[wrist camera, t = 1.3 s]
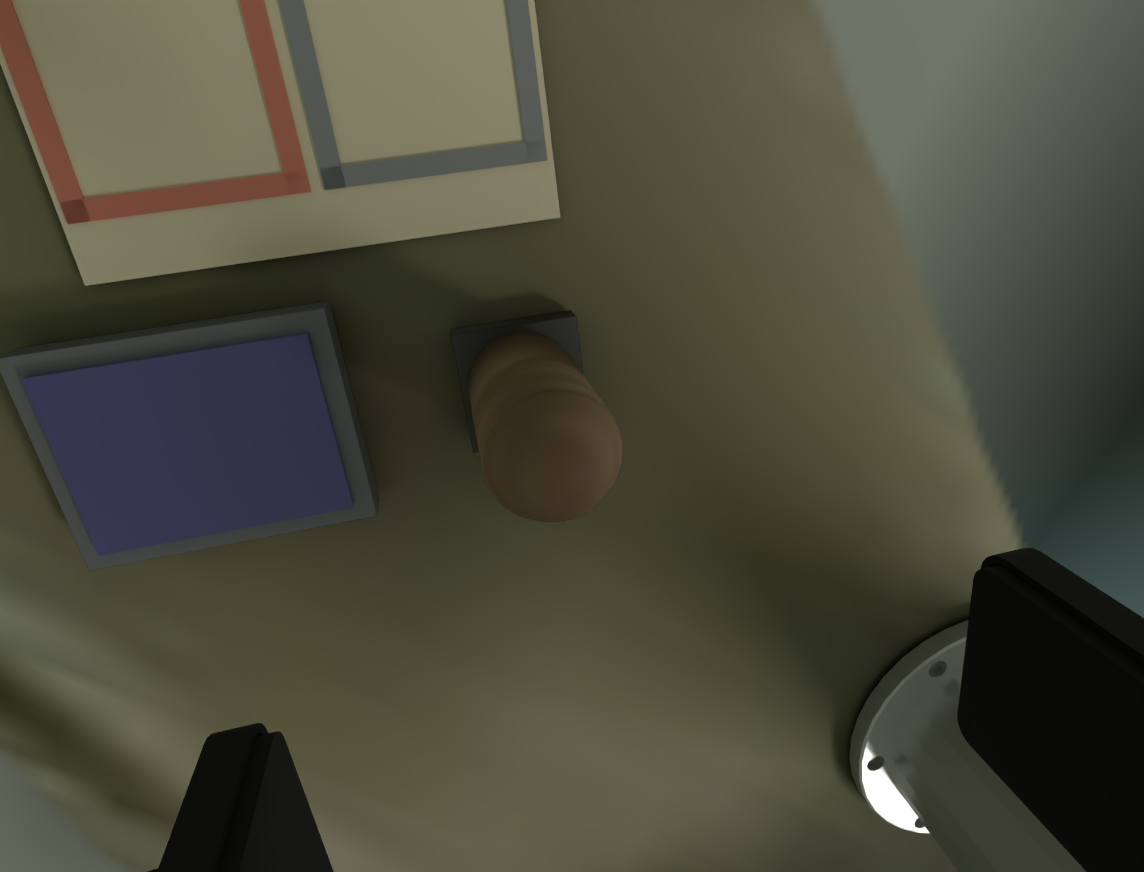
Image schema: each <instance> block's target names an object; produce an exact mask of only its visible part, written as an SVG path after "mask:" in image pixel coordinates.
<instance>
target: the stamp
mask: <svg viewBox="0 0 1144 872" xmlns="http://www.w3.org/2000/svg"><path fill="white" fill-rule="evenodd" d="M451 337H452V342H453V348H454V353H455V358H456V363H457V369H458V374H459V379H460V385H461V390H462V395H463V401H464V406H465V411H466V416H467V422H468V427H469V432H470V438H471V443H472V448H473V453H475V452H479V455H480V461H481V466H482V472H483V475H484V479H485V481H486V484H487V486H488V488H489V490H490V491H491V493H492V495H493V496H494V497H495V498H496V499H497V501H498V502H499V503H501V504H502V505H503V506H504V507H505V508H507V509H508V510H509V511H511V512H513V513H515V514H517V515H519V516H521V517H524V518H527V519H531V520H536V521H542V522H560V521H566V520H570V519H574V518H576V517H579V516H581V515H583V514H585V513H587V512H588V511H590V510H591V509H593V508H594V507H595V506H597V505H598V504H599V503H600V502H601V501H602V500H603V499H604V498H605V496H606V495H607V494H608V492H609V491H610V490H611V488H612V486H613V485H614V483H615V481H616V479H617V477H618V475H619V472H620V470H621V466H622V462H623V453H624V452H623V440H622V435H621V432H620V429H619V426H618V424H617V422H616V420H615V419H614V417H613V416H612V414H611V413H610V411H609V410H608V409H607V407H606V406H605V404H604V403H603V402H602V400H601V399H600V397H599V396H598V395H597V393H596V392H595V390H594V389H593V388H592V386H591V385H590V383H589V382H588V381H587V379H586V378H585V376H584V375H583V369H582V361H581V352H580V344H579V335H578V327H577V318H576V316H575V315H574V313H573V312H572V311H571V310H568V311H562V312H556V313H550V314H544V315H537V316H531V317H525V318H519V319H513V320H506V321H500V322H494V323H488V324H482V325H475V326H469V327H463V328H457V329H451Z"/></svg>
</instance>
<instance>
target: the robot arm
mask: <svg viewBox="0 0 1144 872" xmlns="http://www.w3.org/2000/svg"><path fill="white" fill-rule="evenodd" d="M849 759H850V766H851V773H852V777H853V779H854V781H855V783H856V786H857V788H858V790H859V792H860V793H861V794H862V796H863V797H864V799H865V800H866V801H867V803H868V804H869V806H870V807H871V809H872V810H873V811H874V812H875V813H876V814H877V815H879V816H880V817H881V818H882V819H883V820H884V821H886V822H888V823H890V824H892V825H894V826H896V827H898V828H901V829H904V830H908V831H912V832H918V833H930V834H931V835H932V837H933V838H934V839H935V841H936V842H937V843H938V845H939V846H940V847H941V849H942V850H943V851H944V853H945V854H946V856H947V857H948V858H949V860H950V861H951V862H952V864H953V865H954V866H955V868H956V869H957V870H958V872H1144V618H1142V617H1141V616H1139V615H1138V614H1136V613H1135V612H1133V611H1131V610H1130V609H1129V608H1127V607H1125V606H1124V605H1122V604H1121V603H1119V602H1117V601H1116V600H1115V599H1113V598H1112V597H1110V596H1108V595H1107V594H1105V593H1104V592H1102V591H1101V590H1099V589H1097V588H1096V587H1094V586H1093V585H1091V584H1090V583H1088V582H1087V581H1085V580H1084V579H1082V578H1081V577H1079V576H1077V575H1076V574H1074V573H1073V572H1071V571H1070V570H1068V569H1066V568H1065V567H1063V566H1062V565H1060V564H1059V563H1057V562H1056V561H1054V560H1053V559H1051V558H1050V557H1048V556H1047V555H1045V554H1043V553H1042V552H1040V551H1038V550H1036V549H1034V548H1023V549H1018V550H1014V551H1010V552H1005V553H1001V554H996V555H992V556H989V557H987V558H986V559H985V560H984V561H983V563H982V566H981V569H980V570H978V571H977V572H976V573H975V576H974V579H973V587H972V595H971V604H970V612H969V620H967V621H964V622H962V623H959V624H957V625H954V626H952V627H949V628H947V629H945V630H943V631H941V632H939V633H938V634H936V635H934V636H932V637H931V638H929V639H927V640H925V641H924V642H922V643H921V644H920V645H918V646H917V647H916V648H914V649H913V650H912V651H910V652H909V653H908V654H907V655H905V656H904V657H903V658H901V659H900V660H899V661H898V662H897V663H896V664H895V665H894V666H893V667H892V668H891V669H890V671H889V672H888V673H887V674H886V675H885V676H884V677H883V678H882V679H881V681H880V682H879V683H878V685H877V686H876V687H875V689H874V690H873V691H872V693H871V694H870V695H869V697H868V699H867V701H866V703H865V705H864V706H863V708H862V710H861V712H860V714H859V716H858V718H857V721H856V725H855V728H854V731H853V734H852V737H851V745H850V755H849ZM148 872H333V869H332V866H331V864H330V861H329V858H328V855H327V853H326V850H325V847H324V845H323V842H322V839H321V836H320V834H319V831H318V828H317V825H316V823H315V820H314V817H313V815H312V812H311V809H310V806H309V804H308V801H307V798H306V796H305V793H304V790H303V787H302V785H301V782H300V779H299V776H298V774H297V771H296V768H295V766H294V763H293V760H292V757H291V755H290V752H289V749H288V746H287V744H286V741H285V739H284V736H283V734H282V733H281V732H273V733H269V734H268V732H267V730H266V728H265V726H264V725H263V724H262V723H257V724H252V725H248V726H244V727H239V728H235V729H230V730H226V731H222V732H217V733H213V734H211V735H210V736H209V737H207V739H206V741H205V743H204V746H203V748H202V751H201V754H200V756H199V759H198V762H197V765H196V767H195V770H194V773H193V776H192V778H191V781H190V784H189V786H188V789H187V792H186V795H185V797H184V800H183V803H182V805H181V808H180V811H179V814H178V816H177V819H176V822H175V825H174V827H173V830H172V833H171V835H170V838H169V841H168V844H167V846H166V849H165V852H164V855H163V857H162V860H161V863H160V865H159V868H158V869H154V870H151V871H148Z"/></svg>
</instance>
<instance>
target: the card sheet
mask: <svg viewBox="0 0 1144 872" xmlns="http://www.w3.org/2000/svg"><path fill="white" fill-rule="evenodd" d="M0 64H1V67H2V70H3V72H4V75H5V77H6V80H7V83H8V85H9V88H10V91H11V93H12V96H13V98H14V101H15V104H16V106H17V109H18V112H19V114H20V117H21V119H22V122H23V125H24V127H25V130H26V133H27V135H28V138H29V140H30V143H31V146H32V148H33V151H34V153H35V156H36V159H37V161H38V164H39V167H40V169H41V172H42V174H43V177H44V180H45V182H46V185H47V188H48V190H49V193H50V195H51V198H52V201H53V203H54V206H55V209H56V211H57V214H58V216H59V219H60V222H61V224H62V227H63V229H64V232H65V235H66V237H67V240H68V243H69V245H70V248H71V250H72V253H73V256H74V258H75V261H76V264H77V266H78V269H79V271H80V274H81V277H82V279H83V282H84V284H85V286H88V285H95V284H102V283H109V282H115V281H122V280H129V279H136V278H143V277H150V276H157V275H164V274H171V273H178V272H185V271H192V270H199V269H206V268H213V267H220V266H227V265H234V264H241V263H248V262H254V261H261V260H268V259H275V258H282V257H289V256H296V255H303V254H310V253H317V252H324V251H331V250H338V249H345V248H352V247H359V246H366V245H373V244H380V243H387V242H394V241H400V240H407V239H414V238H421V237H428V236H435V235H442V234H449V233H456V232H463V231H470V230H477V229H484V228H491V227H498V226H505V225H512V224H519V223H526V222H533V221H539V220H546V219H553V218H560V209H559V201H558V192H557V184H556V176H555V168H554V159H553V151H552V143H551V134H550V126H549V118H548V109H547V101H546V93H545V84H544V76H543V68H542V60H541V51H540V43H539V35H538V26H537V18H536V10H535V1H534V0H0Z"/></svg>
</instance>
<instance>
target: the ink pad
mask: <svg viewBox="0 0 1144 872" xmlns="http://www.w3.org/2000/svg"><path fill="white" fill-rule="evenodd" d="M0 373H1V375H2V377H3V380H4V382H5V384H6V386H7V388H8V391H9V393H10V395H11V397H12V400H13V402H14V404H15V406H16V409H17V411H18V413H19V415H20V417H21V420H22V422H23V424H24V426H25V429H26V431H27V433H28V435H29V438H30V440H31V442H32V444H33V446H34V449H35V451H36V453H37V455H38V458H39V460H40V462H41V464H42V466H43V469H44V471H45V473H46V475H47V478H48V480H49V482H50V484H51V487H52V489H53V491H54V493H55V495H56V498H57V500H58V502H59V504H60V507H61V509H62V511H63V513H64V516H65V518H66V520H67V522H68V524H69V527H70V529H71V531H72V533H73V536H74V538H75V540H76V542H77V545H78V547H79V549H80V551H81V553H82V556H83V558H84V560H85V562H86V565H87V567H88V569H89V571H93V570H98V569H103V568H108V567H113V566H119V565H124V564H129V563H134V562H139V561H145V560H150V559H155V558H160V557H165V556H171V555H176V554H181V553H186V552H191V551H197V550H202V549H207V548H212V547H217V546H223V545H228V544H233V543H238V542H243V541H249V540H254V539H259V538H264V537H269V536H275V535H280V534H285V533H290V532H295V531H301V530H306V529H311V528H316V527H321V526H327V525H332V524H337V523H342V522H347V521H353V520H358V519H363V518H368V517H373V516H377V512H378V505H379V497H378V493H377V489H376V485H375V481H374V477H373V473H372V469H371V465H370V461H369V458H368V454H367V450H366V446H365V442H364V438H363V434H362V430H361V426H360V422H359V418H358V414H357V410H356V406H355V402H354V398H353V394H352V390H351V386H350V382H349V378H348V374H347V370H346V366H345V362H344V358H343V354H342V350H341V346H340V342H339V338H338V334H337V330H336V327H335V323H334V319H333V315H332V311H331V307H330V303H329V301H325V302H319V303H312V304H306V305H299V306H293V307H286V308H280V309H273V310H266V311H260V312H253V313H247V314H240V315H234V316H227V317H221V318H214V319H208V320H201V321H194V322H188V323H181V324H175V325H168V326H162V327H155V328H149V329H142V330H136V331H129V332H122V333H116V334H109V335H103V336H96V337H90V338H83V339H77V340H70V341H64V342H57V343H50V344H44V345H37V346H31V347H24V348H18V349H15V350H13V351H11V352H9V353H7V354H5V355H2V356H0Z"/></svg>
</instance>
